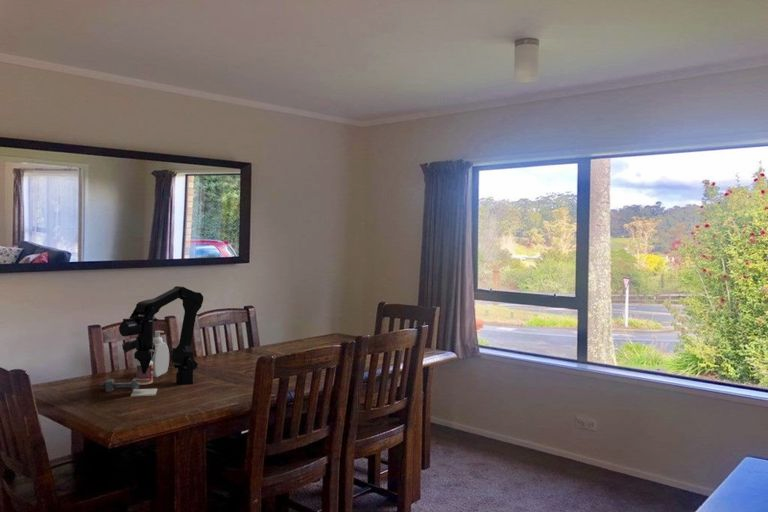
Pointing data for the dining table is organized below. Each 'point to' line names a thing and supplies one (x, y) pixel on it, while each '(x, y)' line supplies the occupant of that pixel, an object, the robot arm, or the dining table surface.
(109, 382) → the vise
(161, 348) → the soap bottle
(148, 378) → the pill bottle
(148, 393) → the coaster
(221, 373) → the dining table surface
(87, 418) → the dining table surface
